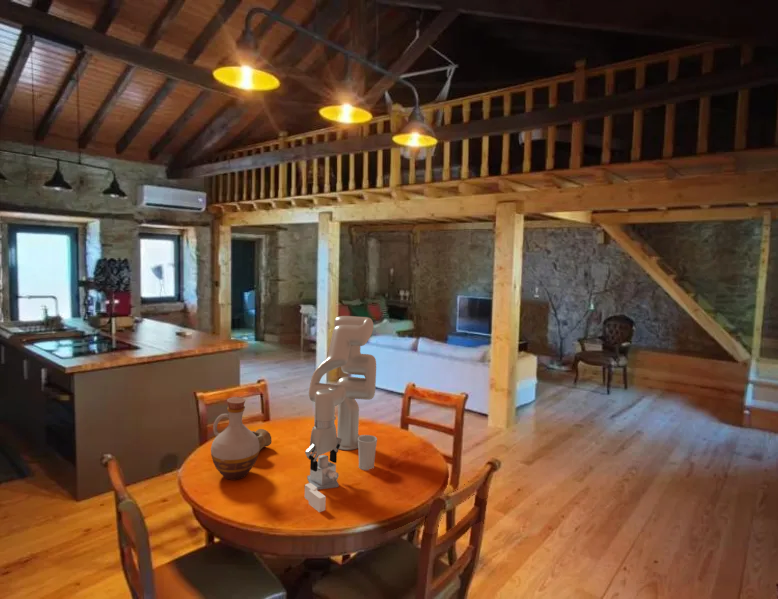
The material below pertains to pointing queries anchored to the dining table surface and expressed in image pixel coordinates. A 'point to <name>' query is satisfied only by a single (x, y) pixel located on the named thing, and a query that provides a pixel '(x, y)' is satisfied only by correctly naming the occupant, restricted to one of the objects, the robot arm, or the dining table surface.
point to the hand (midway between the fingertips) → (323, 465)
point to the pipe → (263, 438)
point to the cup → (366, 451)
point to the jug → (234, 443)
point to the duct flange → (322, 464)
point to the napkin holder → (315, 497)
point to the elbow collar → (324, 474)
